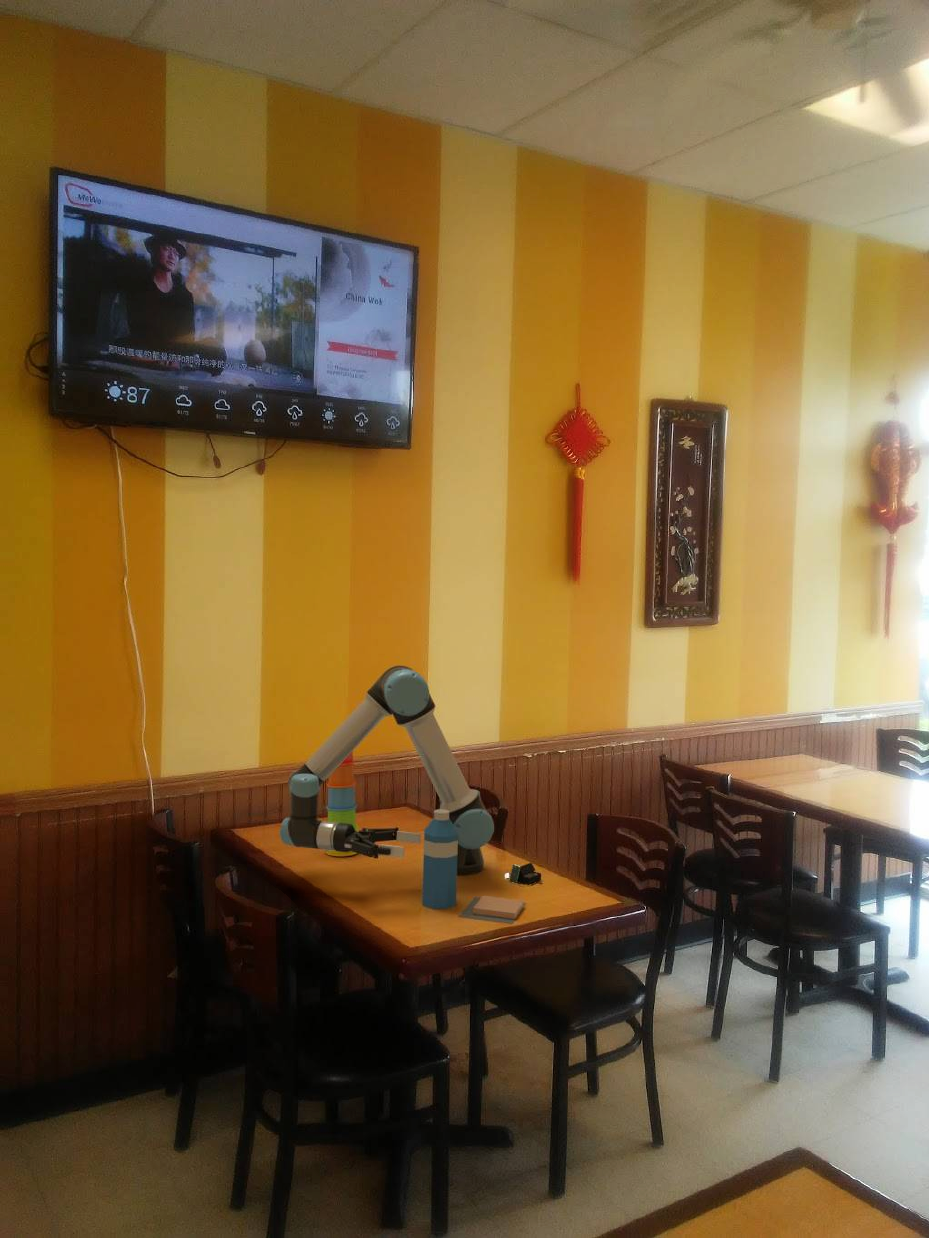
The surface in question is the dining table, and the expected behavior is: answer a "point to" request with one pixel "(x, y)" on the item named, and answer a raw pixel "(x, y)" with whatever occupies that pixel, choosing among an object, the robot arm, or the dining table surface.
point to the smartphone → (524, 874)
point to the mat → (469, 914)
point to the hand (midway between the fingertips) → (412, 845)
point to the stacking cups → (342, 798)
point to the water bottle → (440, 862)
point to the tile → (498, 907)
